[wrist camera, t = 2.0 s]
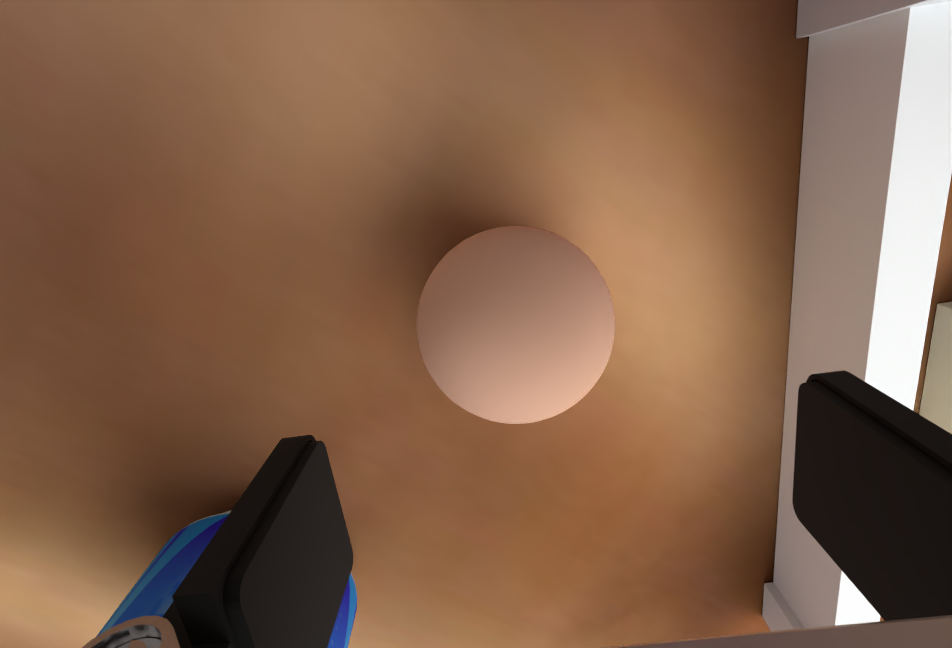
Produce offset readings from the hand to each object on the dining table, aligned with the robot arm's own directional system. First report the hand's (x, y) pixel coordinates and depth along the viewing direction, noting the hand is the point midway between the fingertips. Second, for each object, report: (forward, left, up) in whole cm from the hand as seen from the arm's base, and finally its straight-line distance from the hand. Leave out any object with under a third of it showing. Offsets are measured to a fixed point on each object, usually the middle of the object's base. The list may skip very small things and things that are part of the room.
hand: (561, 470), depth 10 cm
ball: (-1, 0, -10) cm, 10 cm away
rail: (+3, +11, -10) cm, 15 cm away
